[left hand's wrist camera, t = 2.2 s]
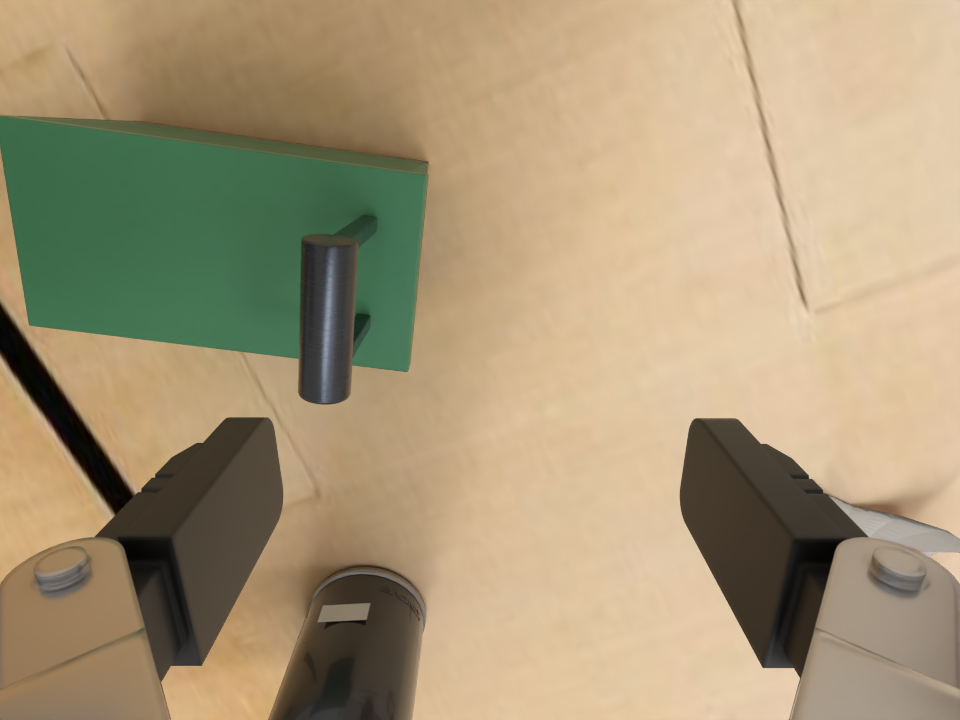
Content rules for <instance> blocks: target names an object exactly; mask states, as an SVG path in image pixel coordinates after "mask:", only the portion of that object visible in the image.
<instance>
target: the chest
mask: <svg viewBox="0 0 960 720" xmlns="http://www.w3.org/2000/svg"><path fill="white" fill-rule="evenodd" d="M18 117H25V118H33V119H40V120H47V121H54V122H61V123H68V124H75V125H83V126H90V127H97V128H104V129H111V130H118V131H125V132H133V133H140V134H147V135H154V136H161V137H168V138H176V139H183V140H190V141H197V142H204V143H211V144H218V145H226V146H233V147H240V148H247V149H254V150H261V151H268V152H276V153H283V154H290V155H297V156H304V157H311V158H319V159H326V160H333V161H340V162H347V163H354V164H361V165H369V166H376V167H383V168H390V169H397V170H404V171H411V172H419V173H426V174H427V172H428V162H425V161H418V160H411V159H404V158H397V157H390V156H383V155H376V154H369V153H362V152H354V151H347V150H340V149H333V148H326V147H319V146H312V145H305V144H298V143H291V142H284V141H276V140H269V139H262V138H255V137H248V136H241V135H234V134H227V133H220V132H213V131H205V130H198V129H191V128H184V127H177V126H170V125H163V124H156V123H149V122H142V121H116V120H94V119H72V118H50V117H28V116H18Z"/></svg>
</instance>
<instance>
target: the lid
mask: <svg viewBox="0 0 960 720" xmlns="http://www.w3.org/2000/svg"><path fill="white" fill-rule="evenodd" d="M0 148H1V154H2V161H3V167H4V173H5V179H6V185H7V192H8V198H9V204H10V210H11V216H12V222H13V229H14V235H15V241H16V247H17V253H18V260H19V266H20V272H21V278H22V284H23V290H24V297H25V303H26V309H27V315H28V321H29V325H30V326H37V327H45V328H54V329H62V330H70V331H78V332H86V333H94V334H102V335H111V336H119V337H127V338H135V339H143V340H151V341H159V342H168V343H176V344H184V345H192V346H200V347H208V348H216V349H224V350H233V351H241V352H249V353H257V354H265V355H273V356H281V357H290V358H298V359H299V381H298V393H299V395H300V397H301V398H302V399H304V400H305V401H308V402H311V403H315V404H335V403H339V402H342V401H344V400H346V399H347V398H348V397H349V395H350V391H351V373H352V365H355V366H363V367H371V368H379V369H387V370H395V371H403V372H408V369H409V366H410V361H411V351H412V340H413V330H414V320H415V309H416V299H417V288H418V278H419V267H420V257H421V247H422V236H423V226H424V215H425V205H426V195H427V184H428V174H426V173H419V172H411V171H404V170H397V169H390V168H383V167H376V166H369V165H361V164H354V163H347V162H340V161H333V160H326V159H319V158H311V157H304V156H297V155H290V154H283V153H276V152H268V151H261V150H254V149H247V148H240V147H233V146H226V145H218V144H211V143H204V142H197V141H190V140H183V139H176V138H168V137H161V136H154V135H147V134H140V133H133V132H125V131H118V130H111V129H104V128H97V127H90V126H83V125H75V124H68V123H61V122H54V121H47V120H40V119H33V118H25V117H18V116H5V115H0Z"/></svg>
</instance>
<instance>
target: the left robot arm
mask: <svg viewBox="0 0 960 720" xmlns="http://www.w3.org/2000/svg"><path fill="white" fill-rule="evenodd" d="M282 504H283V485H282V479H281V472H280V465H279V458H278V451H277V444H276V437H275V431H274V426H273V424H272V421H271V420H270V419H269V418H226V419H225V420H224V421H223V422H222V423H221V424H220V425H219V426H218V427H217V428H216V429H215V430H214V432H213V433H212V434H211V435H210V436H209V437H208V438H207V439H206V440H205V441H204V442H203V443H196V444H194V445H193V446H191V447H189V448H187V449H186V450H184V451H182V452H180V453H179V454H177V455H175V456H174V457H172V458H171V459H170V460H169V461H168V462H167V463H166V464H165V465H164V466H163V467H162V468H161V469H160V470H159V471H158V472H157V473H156V474H155V478H151V479H150V480H149V481H148V483H147V484H146V485H145V486H144V487H143V488H142V491H141V492H138V493H137V494H136V495H135V496H134V497H133V498H132V499H131V500H130V501H129V502H128V503H127V504H126V505H125V506H124V507H123V508H122V509H121V510H120V511H119V512H118V513H117V514H116V515H115V516H114V517H113V519H112V520H111V521H110V522H109V523H108V524H107V525H106V526H105V527H104V528H103V529H102V530H101V531H100V532H99V533H98V534H97V535H96V536H95V537H90V538H82V539H77V540H72V541H68V542H65V543H61V544H59V545H56V546H53V547H50V548H48V549H46V550H44V551H42V552H39V553H38V554H36V555H34V556H32V557H30V558H29V559H27V560H26V561H24V562H22V563H21V564H20V565H18V566H17V567H16V568H14V569H13V570H12V571H11V572H10V573H9V574H8V575H7V576H6V577H5V578H4V580H3V581H2V582H1V584H0V720H171V718H170V714H169V710H168V707H167V703H166V699H165V695H164V692H163V688H162V685H161V682H162V680H163V678H164V676H165V675H166V673H167V671H168V670H169V668H170V666H202V664H203V662H204V660H205V658H206V657H207V655H208V653H209V651H210V649H211V647H212V645H213V643H214V642H215V640H216V638H217V636H218V634H219V632H220V630H221V628H222V626H223V625H224V623H225V621H226V619H227V617H228V615H229V613H230V611H231V609H232V608H233V606H234V604H235V602H236V600H237V598H238V596H239V594H240V592H241V591H242V589H243V587H244V585H245V583H246V581H247V579H248V577H249V575H250V574H251V572H252V570H253V568H254V566H255V564H256V562H257V560H258V558H259V557H260V555H261V553H262V551H263V549H264V547H265V545H266V543H267V541H268V540H269V538H270V536H271V534H272V532H273V530H274V528H275V526H276V525H277V523H278V520H279V518H280V515H281V510H282ZM680 505H681V511H682V516H683V519H684V521H685V524H686V525H687V527H688V529H689V531H690V533H691V535H692V537H693V538H694V540H695V542H696V544H697V546H698V548H699V550H700V552H701V553H702V555H703V557H704V559H705V561H706V563H707V565H708V566H709V568H710V570H711V572H712V574H713V576H714V578H715V580H716V581H717V583H718V585H719V587H720V589H721V591H722V593H723V594H724V596H725V598H726V600H727V602H728V604H729V606H730V607H731V609H732V611H733V613H734V615H735V617H736V619H737V621H738V622H739V624H740V626H741V628H742V630H743V632H744V634H745V635H746V637H747V639H748V641H749V643H750V645H751V647H752V648H753V650H754V652H755V654H756V656H757V658H758V660H759V662H760V663H761V665H762V667H763V668H794V669H795V670H796V672H797V674H798V675H799V677H800V681H799V685H798V688H797V692H796V695H795V699H794V703H793V707H792V710H791V714H790V718H789V720H960V584H959V582H958V581H957V580H956V578H955V577H954V576H953V575H952V574H951V573H950V572H949V571H948V570H947V569H946V568H944V567H943V566H942V565H940V564H939V563H938V562H936V561H934V560H933V559H931V558H930V557H928V556H926V555H924V554H922V553H921V552H918V551H916V550H914V549H912V548H910V547H907V546H904V545H901V544H899V543H895V542H892V541H888V540H883V539H878V538H870V537H868V536H867V534H866V533H865V532H864V531H863V530H862V529H861V528H860V527H859V526H858V525H857V524H856V523H855V522H854V521H853V520H852V519H851V518H850V517H849V516H848V515H847V514H846V513H845V512H844V511H843V510H842V509H841V508H840V507H839V506H838V505H837V504H836V503H835V502H834V501H833V500H832V499H831V498H830V497H829V496H828V495H827V494H823V490H822V489H821V488H820V487H819V486H818V485H817V484H816V482H815V481H814V480H813V479H809V475H808V474H807V473H806V472H805V471H804V470H803V469H802V468H801V467H800V466H799V465H798V464H797V463H796V462H795V461H794V460H793V459H792V458H790V457H788V456H787V455H785V454H783V453H781V452H780V451H778V450H776V449H774V448H773V447H771V446H769V445H767V444H760V443H759V442H758V440H757V439H756V438H755V437H754V436H753V435H752V434H751V433H750V432H749V431H748V430H747V429H746V427H745V426H744V425H743V424H742V423H741V422H740V421H739V420H738V419H735V418H696V419H694V420H693V421H692V423H691V425H690V428H689V433H688V439H687V446H686V453H685V460H684V466H683V473H682V480H681V487H680ZM425 620H426V609H425V605H424V601H423V599H422V597H421V595H420V594H419V592H418V591H417V590H416V588H415V587H414V586H413V585H412V584H411V583H409V582H408V581H407V580H406V579H404V578H402V577H401V576H399V575H397V574H395V573H393V572H390V571H387V570H384V569H380V568H374V567H355V568H349V569H345V570H342V571H339V572H337V573H335V574H333V575H331V576H329V577H328V578H327V579H325V580H324V581H323V582H322V583H321V584H320V585H319V587H318V588H317V589H316V591H315V593H314V595H313V598H312V601H311V604H310V607H309V613H308V616H307V618H305V620H304V623H303V626H302V629H301V631H300V634H299V637H298V640H297V642H296V645H295V648H294V650H293V653H292V656H291V659H290V661H289V664H288V667H287V670H286V672H285V675H284V678H283V681H282V683H281V686H280V689H279V692H278V694H277V697H276V700H275V702H274V705H273V708H272V711H271V713H270V716H269V719H268V720H412V718H413V710H414V701H415V693H416V684H417V676H418V668H419V659H420V652H421V643H422V635H423V631H424V627H425Z"/></svg>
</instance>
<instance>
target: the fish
mask: <svg viewBox="0 0 960 720" xmlns="http://www.w3.org/2000/svg"><path fill="white" fill-rule="evenodd" d="M829 497H830V498H831V499H832V500H833V501H834V502H835V503H836V504H837V505H838V506H839V507H840V508H841V509H842V510H843V511H844V512H845V513H846V514H847V515H848V516H849V517H850V518H851V519H852V520H853V521H854V522H855V523H856V524H857V525H858V526H859V527H860V528H861V529H862V530H863V531H864V532H865V533H866V534H867V536H868V537H870V538H878V539H883V540H888V541H892V542H895V543H899V544H901V545H904V546H907V547H910V548H912V549H914V550H916V551H918V552H921V553H922V554H924V555H926V556H928V557H930V556H931V555H932V554H934V553H939V552H957V553H960V539H959V538H958V537H956V536H954V535H953V534H951V533H950V532H948V531H946V530H943V529H940V528H937V527H934V526H930V525H927V524H924V523H921V522H918V521H915V520H912V519H909V518H906V517H902V516H898V515H893V514H888V513H883V512H878V511H873V510H869V509H864V508H859V507H855V506H851V505H849V504H847V503H845V502H843V501H841V500H839V499H836V498H834V497H832V496H829Z"/></svg>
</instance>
